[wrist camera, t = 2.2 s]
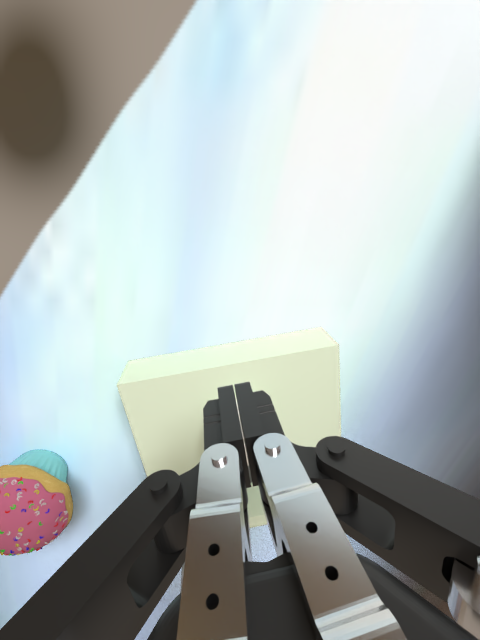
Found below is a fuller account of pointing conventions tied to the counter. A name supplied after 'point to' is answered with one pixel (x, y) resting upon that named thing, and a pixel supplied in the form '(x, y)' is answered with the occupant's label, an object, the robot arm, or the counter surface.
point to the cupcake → (33, 502)
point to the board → (228, 369)
